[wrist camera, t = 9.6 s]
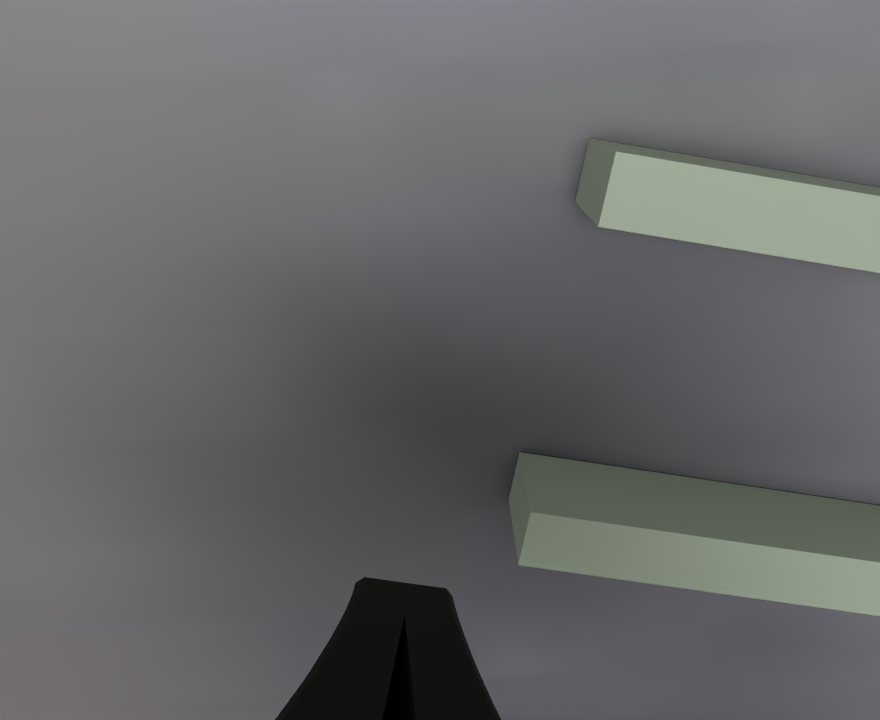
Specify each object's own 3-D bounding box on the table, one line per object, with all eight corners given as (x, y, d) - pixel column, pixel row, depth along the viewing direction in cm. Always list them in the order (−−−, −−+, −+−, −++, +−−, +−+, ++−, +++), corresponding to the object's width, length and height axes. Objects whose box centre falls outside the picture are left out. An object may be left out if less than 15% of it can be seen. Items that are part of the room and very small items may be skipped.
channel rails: (887, 554, 22) (952, 626, 19) (508, 499, 21) (518, 565, 18) (1037, 214, 18) (1144, 240, 16) (589, 138, 18) (616, 151, 15)
